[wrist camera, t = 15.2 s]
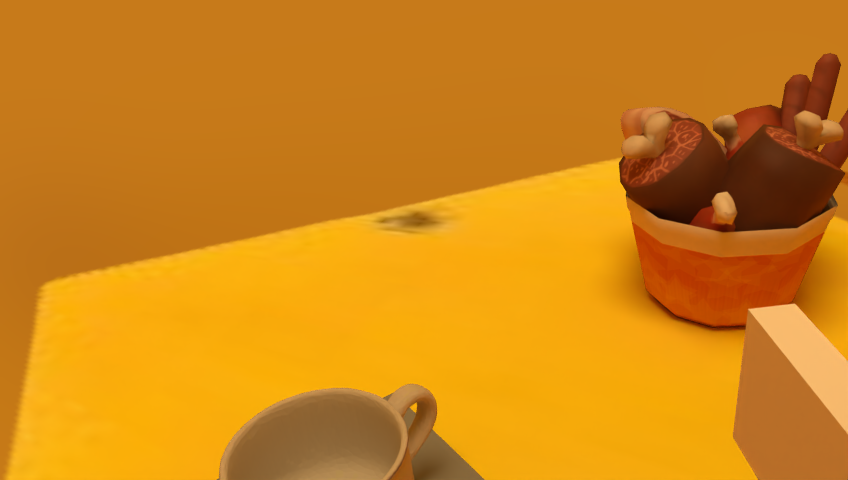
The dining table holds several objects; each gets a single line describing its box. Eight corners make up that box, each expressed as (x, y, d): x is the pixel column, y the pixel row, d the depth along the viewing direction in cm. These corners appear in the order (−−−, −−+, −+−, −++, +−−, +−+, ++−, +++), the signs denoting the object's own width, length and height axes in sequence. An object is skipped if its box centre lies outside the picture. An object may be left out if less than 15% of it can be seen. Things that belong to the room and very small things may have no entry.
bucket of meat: (677, 374, 56) (697, 126, 47) (575, 276, 71) (575, 70, 61) (889, 312, 61) (944, 74, 52) (753, 231, 75) (777, 33, 66)
